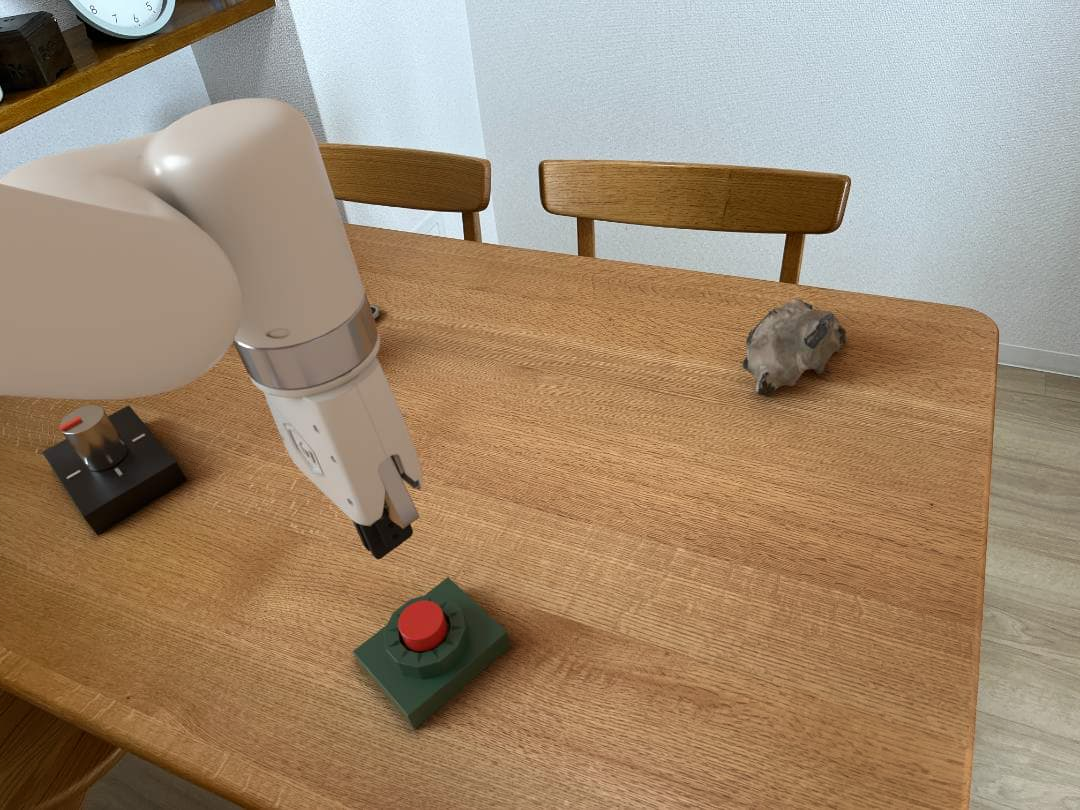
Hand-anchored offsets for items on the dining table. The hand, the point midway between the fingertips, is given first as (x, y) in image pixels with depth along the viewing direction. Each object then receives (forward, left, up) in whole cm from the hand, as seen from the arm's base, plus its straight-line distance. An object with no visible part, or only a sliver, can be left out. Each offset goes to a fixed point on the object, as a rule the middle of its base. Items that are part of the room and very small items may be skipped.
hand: (389, 541), depth 57 cm
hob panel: (-11, +44, -15) cm, 48 cm away
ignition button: (0, 0, -11) cm, 11 cm away
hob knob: (-11, +44, -12) cm, 47 cm away
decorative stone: (+49, -1, -15) cm, 51 cm away
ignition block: (0, 0, -15) cm, 15 cm away
